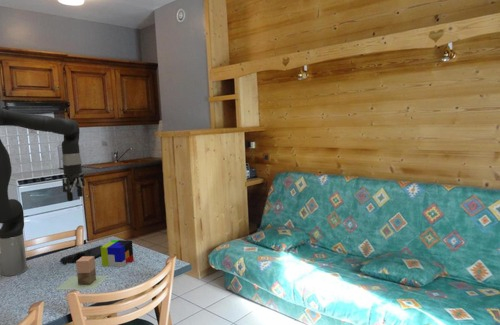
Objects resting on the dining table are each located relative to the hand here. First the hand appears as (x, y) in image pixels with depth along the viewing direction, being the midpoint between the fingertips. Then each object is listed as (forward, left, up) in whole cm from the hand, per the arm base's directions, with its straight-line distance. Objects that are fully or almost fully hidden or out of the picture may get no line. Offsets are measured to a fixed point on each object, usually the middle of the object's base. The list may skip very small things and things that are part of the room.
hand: (75, 198), depth 163 cm
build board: (+11, -20, -32) cm, 39 cm away
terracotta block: (+13, -20, -26) cm, 35 cm away
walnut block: (+13, -20, -31) cm, 39 cm away
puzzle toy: (+17, +1, -32) cm, 37 cm away
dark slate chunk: (-4, +11, -33) cm, 35 cm away
